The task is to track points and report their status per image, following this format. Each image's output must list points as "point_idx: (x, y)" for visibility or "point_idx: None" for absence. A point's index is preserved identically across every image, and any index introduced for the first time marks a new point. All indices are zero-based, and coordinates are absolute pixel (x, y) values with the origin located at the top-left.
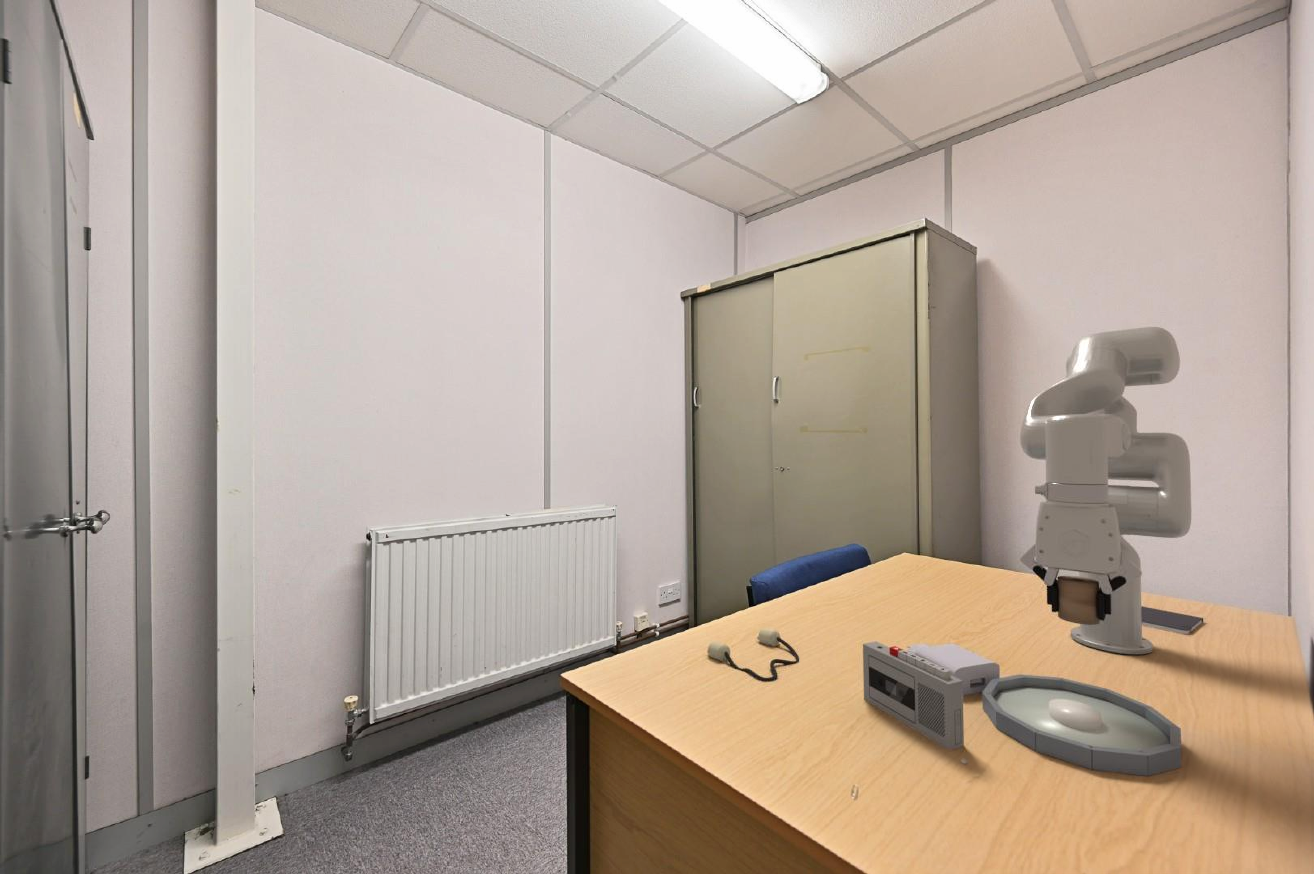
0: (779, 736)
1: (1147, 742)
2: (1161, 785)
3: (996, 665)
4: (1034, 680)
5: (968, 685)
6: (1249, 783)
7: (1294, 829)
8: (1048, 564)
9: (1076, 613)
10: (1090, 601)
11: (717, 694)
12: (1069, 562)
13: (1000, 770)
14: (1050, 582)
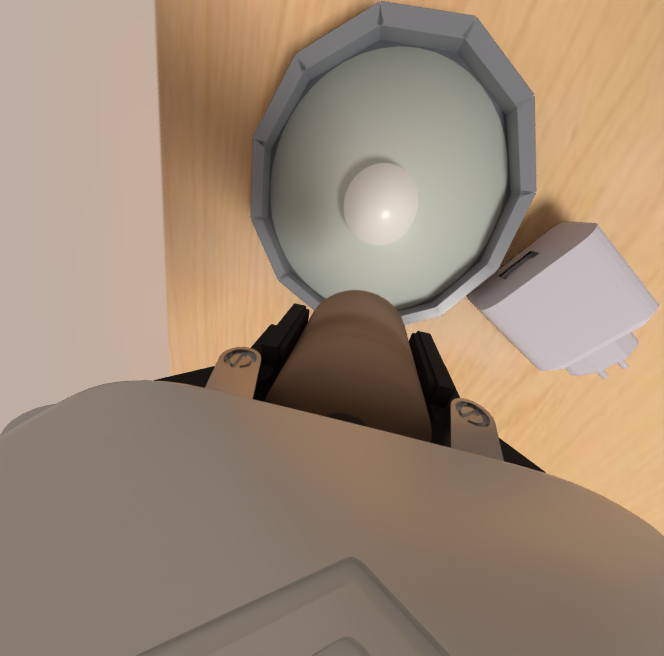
0: None
1: (294, 176)
2: (291, 47)
3: (487, 306)
4: (418, 309)
5: (537, 248)
6: (202, 148)
7: (162, 19)
8: (568, 490)
9: (365, 301)
10: (315, 328)
11: None
12: (407, 495)
13: None
14: (462, 409)
